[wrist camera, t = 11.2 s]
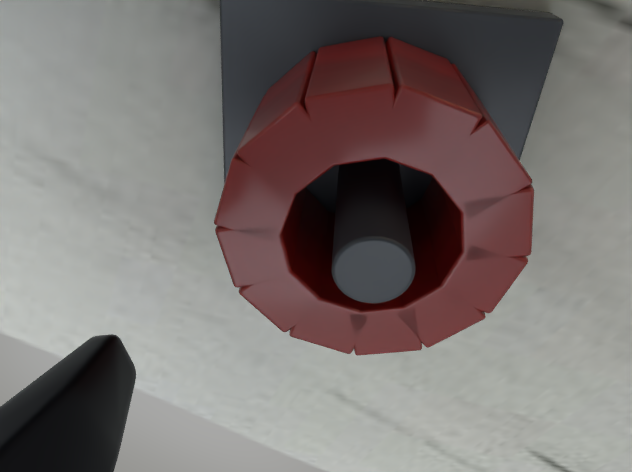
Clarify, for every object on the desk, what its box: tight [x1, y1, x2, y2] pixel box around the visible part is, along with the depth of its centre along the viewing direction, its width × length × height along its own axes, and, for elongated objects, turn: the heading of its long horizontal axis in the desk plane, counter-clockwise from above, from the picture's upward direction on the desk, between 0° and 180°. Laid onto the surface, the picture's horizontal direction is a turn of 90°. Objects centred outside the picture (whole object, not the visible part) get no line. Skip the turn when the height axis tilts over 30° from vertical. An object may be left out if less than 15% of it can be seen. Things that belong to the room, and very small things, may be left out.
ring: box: [214, 36, 534, 355], centre depth 12 cm, size 7×7×4 cm
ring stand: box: [220, 0, 563, 303], centre depth 12 cm, size 8×8×6 cm
